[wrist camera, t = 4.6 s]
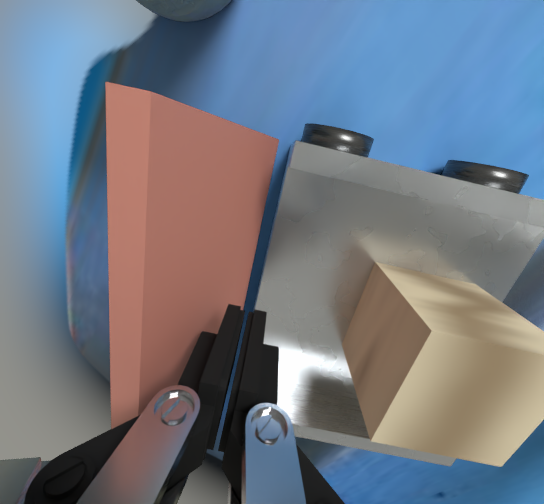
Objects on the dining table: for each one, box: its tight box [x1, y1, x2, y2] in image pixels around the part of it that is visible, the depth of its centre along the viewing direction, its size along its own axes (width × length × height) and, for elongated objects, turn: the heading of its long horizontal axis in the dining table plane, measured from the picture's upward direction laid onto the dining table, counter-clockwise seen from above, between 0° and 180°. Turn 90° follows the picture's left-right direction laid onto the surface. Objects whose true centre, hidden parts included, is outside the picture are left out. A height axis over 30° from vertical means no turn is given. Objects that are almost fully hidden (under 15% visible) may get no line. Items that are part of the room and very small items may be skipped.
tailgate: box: [105, 82, 279, 429], centre depth 12 cm, size 1×16×9 cm, turn 167°
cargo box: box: [342, 262, 544, 467], centre depth 13 cm, size 6×6×6 cm
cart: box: [253, 124, 544, 466], centre depth 17 cm, size 14×18×8 cm
